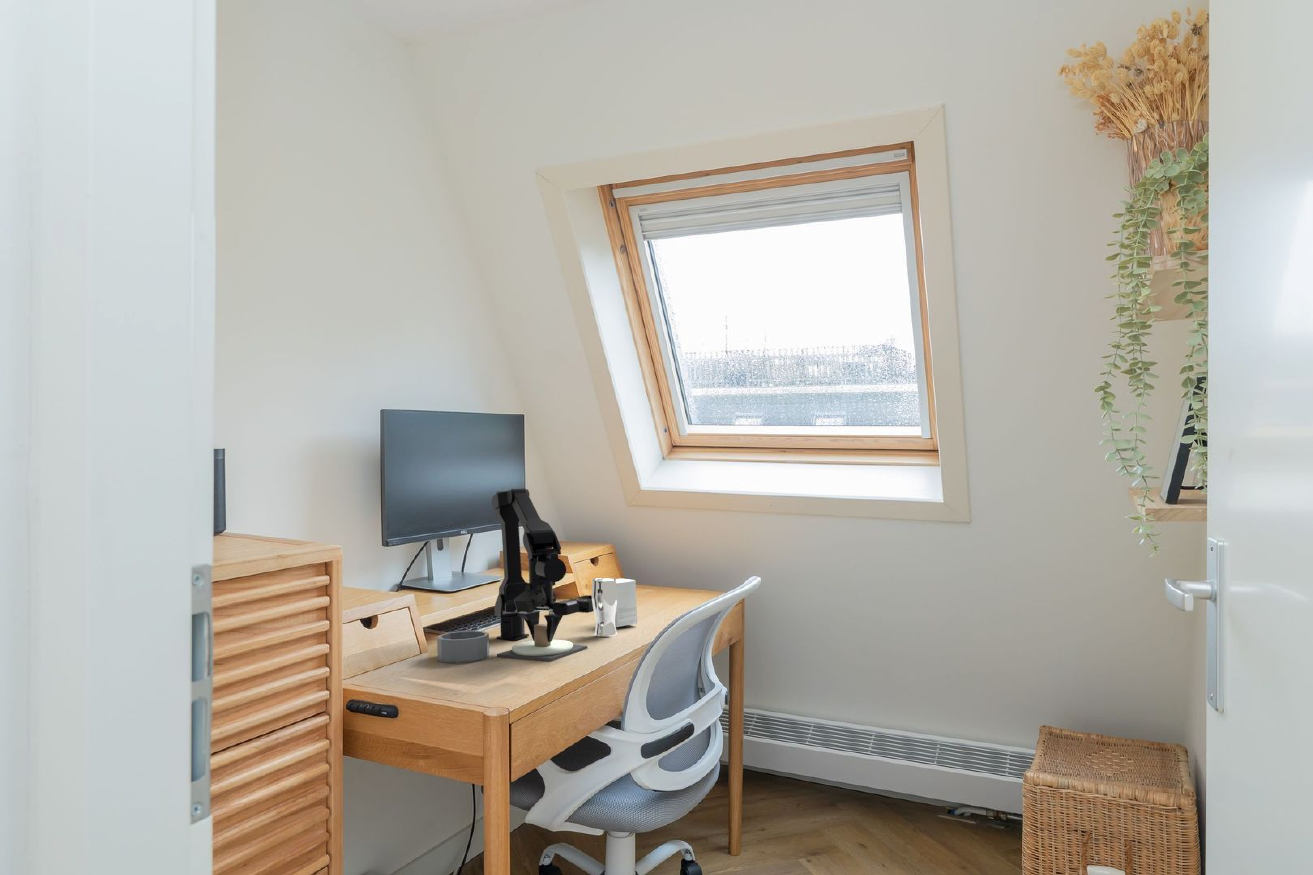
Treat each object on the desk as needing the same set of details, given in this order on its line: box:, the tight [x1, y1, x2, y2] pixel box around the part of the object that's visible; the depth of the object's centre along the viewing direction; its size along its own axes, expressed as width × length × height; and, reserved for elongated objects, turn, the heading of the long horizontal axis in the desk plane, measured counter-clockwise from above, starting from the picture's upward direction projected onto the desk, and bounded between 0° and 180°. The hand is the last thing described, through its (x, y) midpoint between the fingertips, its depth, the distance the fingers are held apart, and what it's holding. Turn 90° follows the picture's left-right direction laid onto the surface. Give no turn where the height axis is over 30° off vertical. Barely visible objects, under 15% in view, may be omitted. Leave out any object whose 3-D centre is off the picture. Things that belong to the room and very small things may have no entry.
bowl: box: [436, 630, 490, 664], centre depth 221 cm, size 12×12×6 cm
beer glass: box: [591, 577, 618, 638], centre depth 246 cm, size 7×7×15 cm
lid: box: [511, 623, 574, 656], centre depth 225 cm, size 15×15×6 cm
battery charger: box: [568, 594, 594, 613], centre depth 291 cm, size 13×10×4 cm
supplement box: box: [615, 578, 638, 628], centre depth 262 cm, size 7×7×13 cm
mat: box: [496, 644, 588, 662], centre depth 225 cm, size 16×16×1 cm
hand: (542, 641), depth 225 cm, fingers closed on lid, 4 cm apart
